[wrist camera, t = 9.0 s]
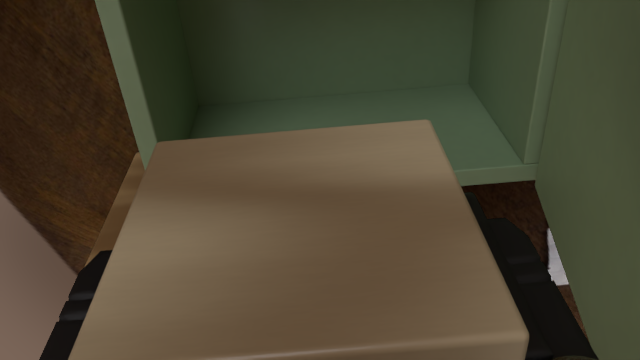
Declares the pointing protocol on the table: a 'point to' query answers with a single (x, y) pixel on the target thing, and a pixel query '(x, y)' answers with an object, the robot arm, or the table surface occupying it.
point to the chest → (343, 71)
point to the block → (302, 255)
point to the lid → (597, 170)
